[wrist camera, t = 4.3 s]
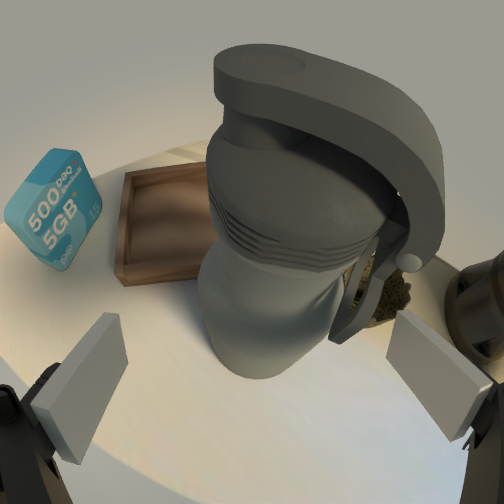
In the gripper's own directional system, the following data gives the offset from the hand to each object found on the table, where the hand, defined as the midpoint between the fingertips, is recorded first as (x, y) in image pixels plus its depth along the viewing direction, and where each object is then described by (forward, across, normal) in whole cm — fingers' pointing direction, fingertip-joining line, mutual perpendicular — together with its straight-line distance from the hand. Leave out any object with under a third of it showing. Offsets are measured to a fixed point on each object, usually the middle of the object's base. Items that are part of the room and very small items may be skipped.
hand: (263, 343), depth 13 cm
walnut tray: (+27, -8, +1) cm, 28 cm away
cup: (+19, +13, -8) cm, 24 cm away
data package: (+26, -24, 0) cm, 36 cm away
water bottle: (+17, +1, -10) cm, 19 cm away
